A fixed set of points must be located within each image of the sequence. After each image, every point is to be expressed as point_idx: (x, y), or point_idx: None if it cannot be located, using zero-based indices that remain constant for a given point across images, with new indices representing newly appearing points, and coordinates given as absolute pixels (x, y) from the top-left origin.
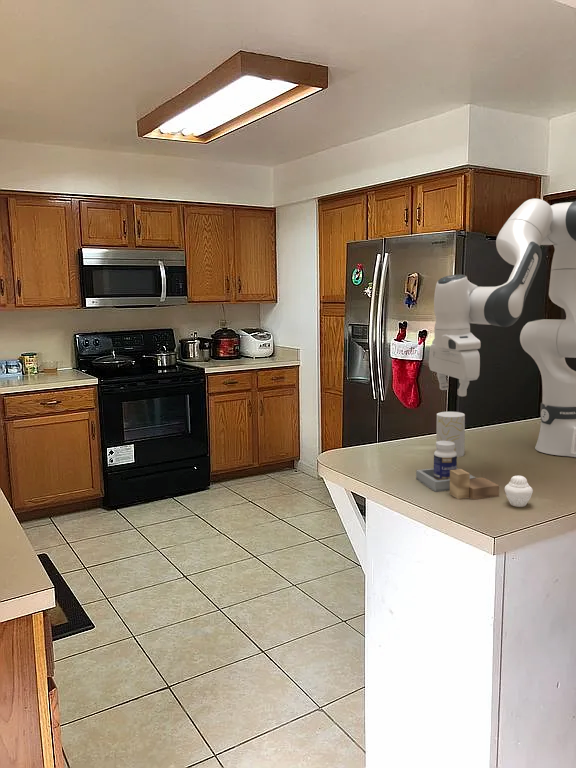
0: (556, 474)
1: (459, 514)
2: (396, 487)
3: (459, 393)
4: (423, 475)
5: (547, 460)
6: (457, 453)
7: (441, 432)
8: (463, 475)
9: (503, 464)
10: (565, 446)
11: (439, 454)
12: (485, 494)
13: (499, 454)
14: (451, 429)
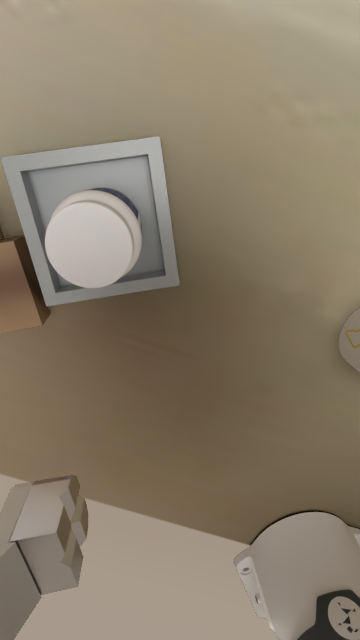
0: (136, 492)
1: None
2: (74, 24)
3: (21, 499)
4: (98, 145)
5: (239, 507)
6: (344, 346)
7: None
8: None
9: (237, 422)
10: (262, 563)
11: (63, 203)
12: None
13: (318, 439)
14: None
